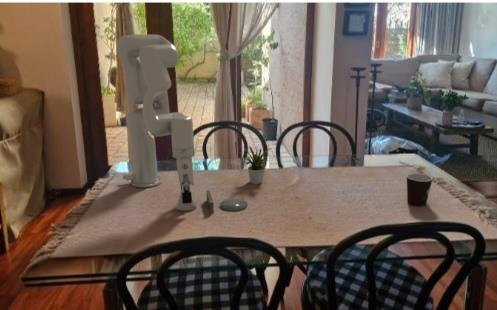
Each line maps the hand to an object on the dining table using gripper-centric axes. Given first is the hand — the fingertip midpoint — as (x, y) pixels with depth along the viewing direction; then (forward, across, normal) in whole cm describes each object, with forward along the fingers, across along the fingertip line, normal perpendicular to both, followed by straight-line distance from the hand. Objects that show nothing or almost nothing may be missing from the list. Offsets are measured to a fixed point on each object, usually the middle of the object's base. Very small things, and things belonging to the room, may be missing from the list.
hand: (186, 197), depth 152 cm
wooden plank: (+4, 0, -8) cm, 9 cm away
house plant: (+4, +22, -29) cm, 36 cm away
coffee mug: (+5, -14, -84) cm, 85 cm away
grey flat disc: (+4, -2, -17) cm, 17 cm away
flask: (+4, 0, 0) cm, 4 cm away
